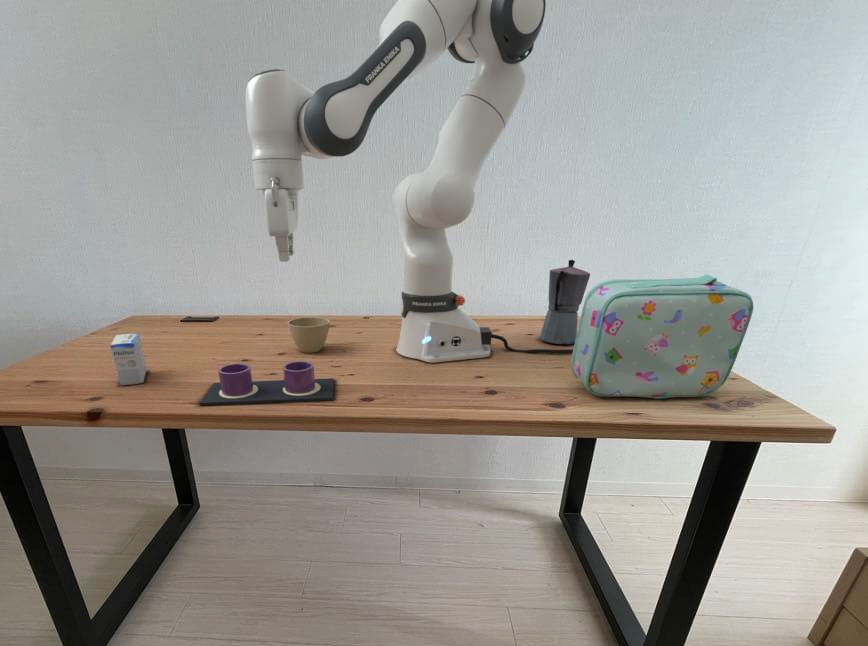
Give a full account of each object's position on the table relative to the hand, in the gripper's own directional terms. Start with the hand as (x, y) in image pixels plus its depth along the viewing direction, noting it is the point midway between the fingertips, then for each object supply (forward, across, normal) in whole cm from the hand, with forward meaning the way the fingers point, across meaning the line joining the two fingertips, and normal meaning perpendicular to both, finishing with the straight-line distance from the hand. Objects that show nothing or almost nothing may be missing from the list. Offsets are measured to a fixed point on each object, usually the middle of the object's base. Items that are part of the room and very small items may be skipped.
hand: (287, 258), depth 89 cm
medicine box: (+23, 0, +34) cm, 42 cm away
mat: (+24, -11, +5) cm, 26 cm away
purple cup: (+23, -11, -1) cm, 26 cm away
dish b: (+23, -11, +11) cm, 27 cm away
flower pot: (+24, +16, -2) cm, 29 cm away
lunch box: (+24, -19, -66) cm, 73 cm away
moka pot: (+24, +14, -65) cm, 71 cm away
